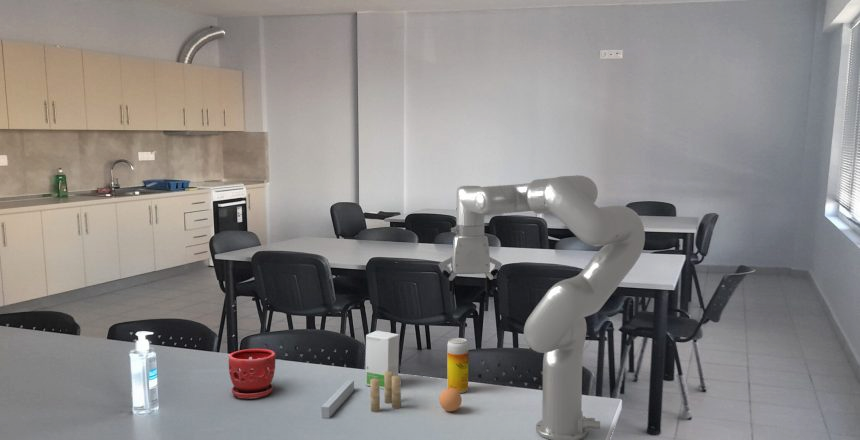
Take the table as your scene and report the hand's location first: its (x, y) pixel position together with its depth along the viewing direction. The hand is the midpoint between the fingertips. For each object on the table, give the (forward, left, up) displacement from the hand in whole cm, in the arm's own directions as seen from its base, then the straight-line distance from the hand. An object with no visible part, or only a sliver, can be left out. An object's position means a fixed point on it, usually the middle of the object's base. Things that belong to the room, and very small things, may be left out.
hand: (470, 293), depth 190 cm
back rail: (+36, +7, -31) cm, 48 cm away
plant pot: (+63, +4, -31) cm, 70 cm away
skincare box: (+28, -10, -31) cm, 43 cm away
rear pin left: (+24, +10, -31) cm, 41 cm away
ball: (+4, +7, -28) cm, 29 cm away
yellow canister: (+5, -9, -31) cm, 33 cm away
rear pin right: (+22, +3, -31) cm, 38 cm away
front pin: (+19, +7, -31) cm, 37 cm away
